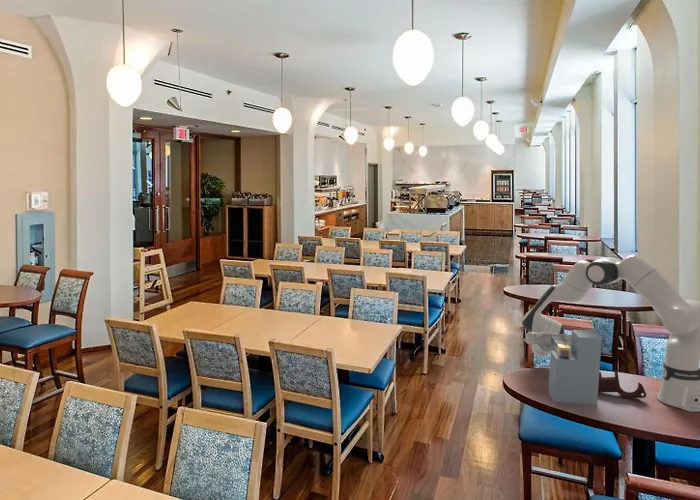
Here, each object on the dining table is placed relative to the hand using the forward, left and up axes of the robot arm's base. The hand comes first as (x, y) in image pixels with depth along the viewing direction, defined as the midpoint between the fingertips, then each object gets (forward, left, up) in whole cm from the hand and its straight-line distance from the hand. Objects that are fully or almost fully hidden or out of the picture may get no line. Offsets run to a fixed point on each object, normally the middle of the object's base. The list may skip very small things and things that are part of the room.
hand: (553, 334), depth 214 cm
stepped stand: (-4, +17, -20) cm, 27 cm away
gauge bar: (0, +10, -3) cm, 10 cm away
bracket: (-23, +11, -21) cm, 33 cm away
